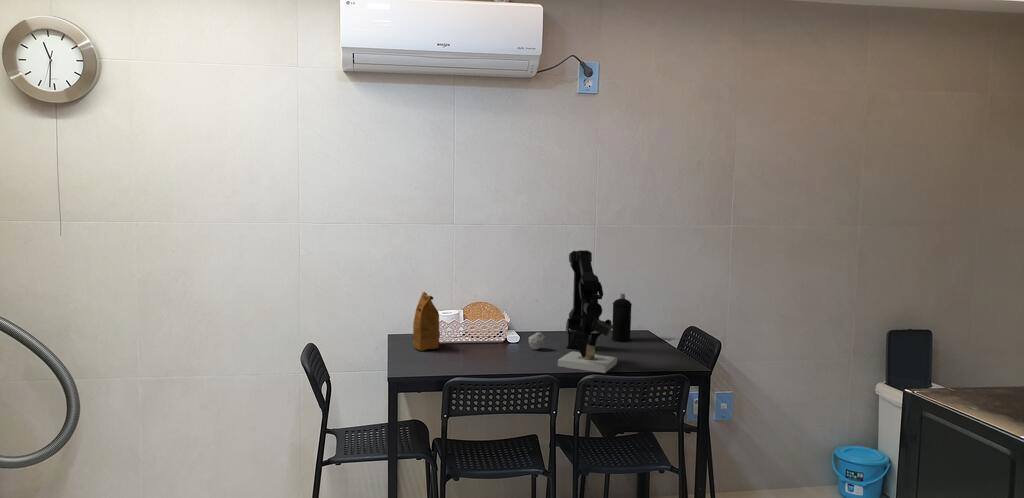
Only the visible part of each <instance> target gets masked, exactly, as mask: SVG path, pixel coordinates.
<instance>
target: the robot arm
mask: <svg viewBox="0 0 1024 498" xmlns="http://www.w3.org/2000/svg"><path fill="white" fill-rule="evenodd" d="M568 262H569V264H570V265H569V266H570V267H571V269H572V271H573V292H572V293H573V297H572V298H573V299H572V309H571V310H570V312H569V313H568V318H567V319H566V324H565V332H566V334H567V335H568V336H567V337H568V339H567V346H566V348H567V349H573V350H578V352H580V353H581V356H582V357H585V356H586V350H587V345H591V346H594V347H595V348H596V344H597V341H598V340H599V339H598V338H599V337H601V335H603V336H606V337H607V336H608V335H610V333H611V332H612V326H613V325H612V324H613V322H612V320H611V319H606V320H601V319H600V317H601V315H602V314H603V307H602V305H601V304H600V303H599V300H603V296H604V291H603V285H602V283H601V281H600V279H599V277H598V276H597V275H596V274H594V269H593V265H592V262H593V252H592V251H590V250H581V249H580V250H572V251H571V252H570V253H569V254H568Z"/></svg>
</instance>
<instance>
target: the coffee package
mask: <svg viewBox="0 0 1024 498" xmlns="http://www.w3.org/2000/svg"><path fill="white" fill-rule="evenodd" d="M432 300H434V296H432V295H428V293H427V292H425V291H422V293H421V296H420V298H419V300H418V303H417V305H416V309H415V311H414V312H415V313H414V319H413V328H412V329H413V332H412V334H413V335H412V343H413V347H414V349H415V348H416V349H415V350H417V349H418V351H419V350H420V352H422V351H429V350H435V349H439V348H440V345H439V344H440V338H441V332H440V313H439V311H438V310H437V307H436V305H434V303H433V301H432ZM428 349H429V350H428Z"/></svg>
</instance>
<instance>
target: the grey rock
mask: <svg viewBox="0 0 1024 498" xmlns="http://www.w3.org/2000/svg"><path fill="white" fill-rule="evenodd" d="M527 339H528V344H529V346H530V348H531V349H532V350H534V351H535V350H536V351H537V350H540V349H541V347H543V343H544V342H545V340H546V336H545V335H544V334H543V333H542V332H535V333H534V334H532V335H529V337H528V338H527Z"/></svg>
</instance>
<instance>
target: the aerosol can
mask: <svg viewBox="0 0 1024 498" xmlns="http://www.w3.org/2000/svg"><path fill="white" fill-rule="evenodd" d="M619 295H620V296H619V298H617V299H616V300H614V302H612V325H613V326H612V329H611V341H613V342H617V343H629V342H631V340H632V339H631V327H632V306H633V304H632V303H631V301H630V300H628V299H627V298H626V294H625V293H620V294H619Z"/></svg>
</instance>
